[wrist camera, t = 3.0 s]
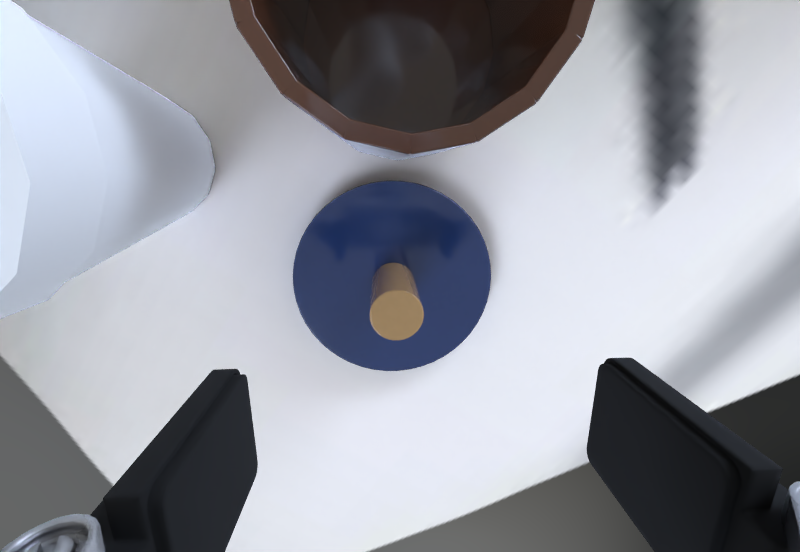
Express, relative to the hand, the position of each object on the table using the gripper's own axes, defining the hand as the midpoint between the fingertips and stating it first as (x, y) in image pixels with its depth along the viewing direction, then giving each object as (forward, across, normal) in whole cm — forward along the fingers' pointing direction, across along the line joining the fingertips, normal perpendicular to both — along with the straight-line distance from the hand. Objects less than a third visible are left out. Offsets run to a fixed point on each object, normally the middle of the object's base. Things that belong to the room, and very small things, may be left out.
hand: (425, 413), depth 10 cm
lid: (+12, 0, 0) cm, 12 cm away
